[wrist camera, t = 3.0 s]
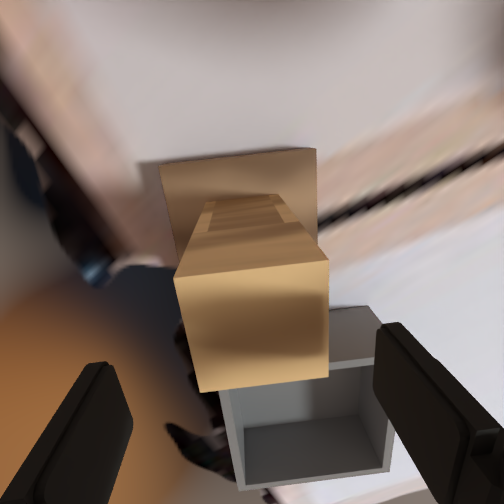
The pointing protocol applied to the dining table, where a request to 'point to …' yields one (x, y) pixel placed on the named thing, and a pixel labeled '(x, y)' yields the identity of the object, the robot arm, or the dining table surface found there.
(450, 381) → the robot arm
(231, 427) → the charcoal bin
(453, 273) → the dining table surface
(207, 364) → the oak strut
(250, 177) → the stud block
